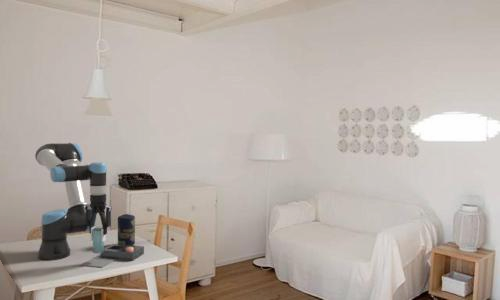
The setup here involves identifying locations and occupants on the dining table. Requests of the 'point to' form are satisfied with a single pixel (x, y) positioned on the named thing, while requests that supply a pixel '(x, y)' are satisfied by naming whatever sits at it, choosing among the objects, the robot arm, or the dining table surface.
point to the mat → (97, 262)
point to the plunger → (130, 249)
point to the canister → (126, 229)
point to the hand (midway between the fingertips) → (98, 240)
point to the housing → (122, 252)
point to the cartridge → (97, 241)
